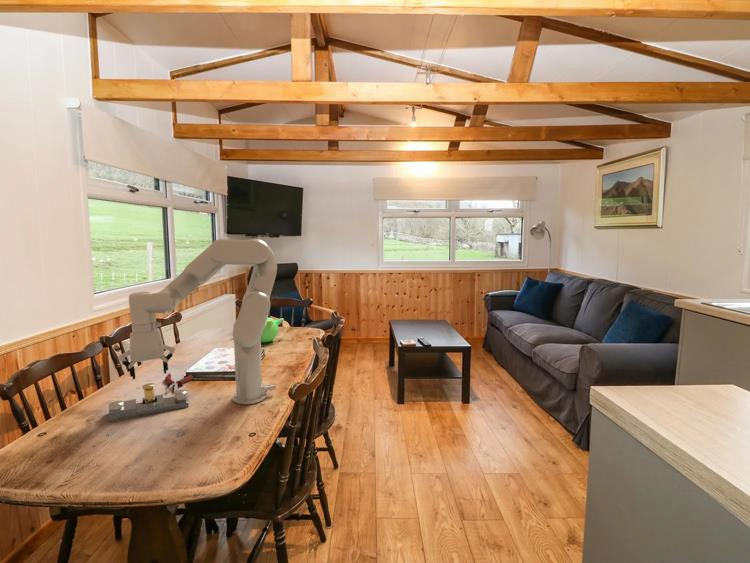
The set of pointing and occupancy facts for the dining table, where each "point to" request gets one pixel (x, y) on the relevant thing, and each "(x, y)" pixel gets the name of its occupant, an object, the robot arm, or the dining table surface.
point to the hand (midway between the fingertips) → (149, 375)
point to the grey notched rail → (147, 406)
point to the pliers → (173, 385)
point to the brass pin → (149, 393)
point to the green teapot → (270, 329)
